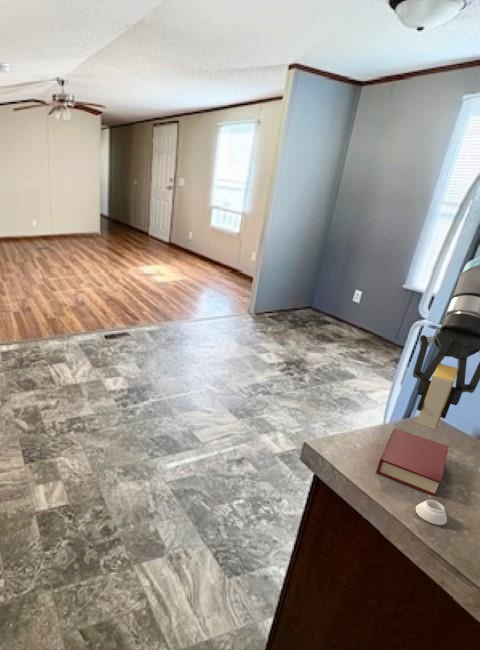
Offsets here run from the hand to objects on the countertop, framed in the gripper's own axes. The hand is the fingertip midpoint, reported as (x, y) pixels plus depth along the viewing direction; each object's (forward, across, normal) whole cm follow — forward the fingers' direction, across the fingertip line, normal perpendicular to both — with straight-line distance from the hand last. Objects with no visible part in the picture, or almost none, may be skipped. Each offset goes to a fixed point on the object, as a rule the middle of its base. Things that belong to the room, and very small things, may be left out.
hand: (431, 412), depth 91 cm
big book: (+10, 0, -13) cm, 16 cm away
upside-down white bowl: (+21, -6, -2) cm, 22 cm away
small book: (0, 0, -5) cm, 5 cm away
